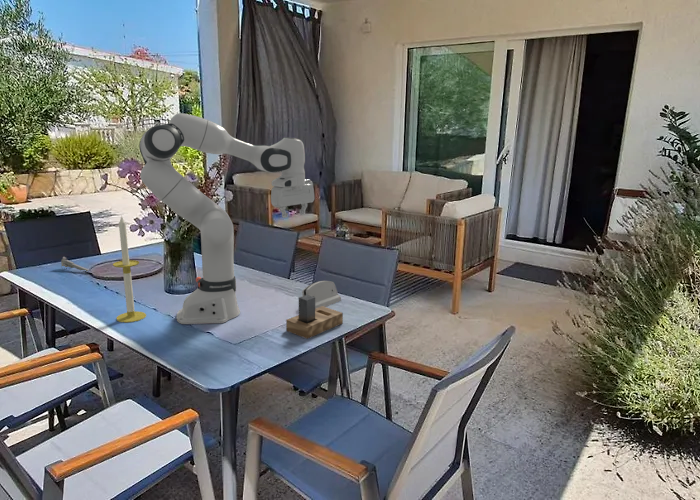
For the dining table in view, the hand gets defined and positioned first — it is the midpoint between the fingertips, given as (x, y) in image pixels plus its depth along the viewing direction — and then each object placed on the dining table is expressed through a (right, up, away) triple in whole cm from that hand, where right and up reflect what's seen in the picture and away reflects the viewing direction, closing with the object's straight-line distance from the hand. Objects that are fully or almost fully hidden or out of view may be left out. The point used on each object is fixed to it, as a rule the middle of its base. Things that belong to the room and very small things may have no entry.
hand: (293, 216), depth 190 cm
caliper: (-106, -24, +38) cm, 115 cm away
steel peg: (+7, -41, -23) cm, 48 cm away
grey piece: (+11, -35, +3) cm, 37 cm away
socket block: (+10, -40, -20) cm, 46 cm away
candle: (-57, -38, -15) cm, 70 cm away
